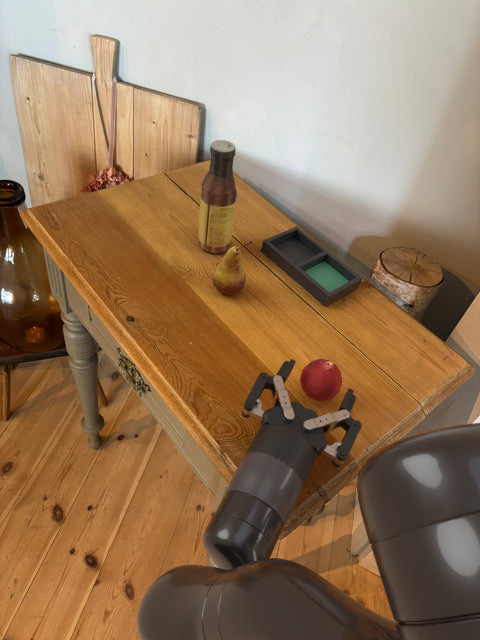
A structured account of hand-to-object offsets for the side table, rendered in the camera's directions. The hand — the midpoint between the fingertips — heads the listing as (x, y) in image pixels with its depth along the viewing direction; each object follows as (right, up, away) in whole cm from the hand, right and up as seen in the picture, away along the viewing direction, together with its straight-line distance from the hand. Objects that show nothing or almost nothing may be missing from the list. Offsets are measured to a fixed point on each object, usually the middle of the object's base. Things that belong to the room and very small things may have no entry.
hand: (320, 377), depth 63 cm
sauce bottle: (-16, +22, +25) cm, 37 cm away
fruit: (-13, +13, +18) cm, 26 cm away
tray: (+2, +17, +24) cm, 30 cm away
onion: (0, -3, +5) cm, 6 cm away
